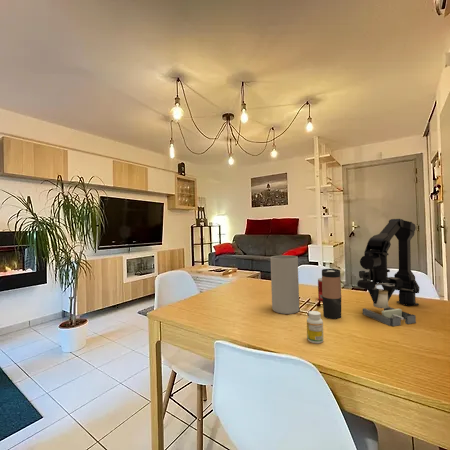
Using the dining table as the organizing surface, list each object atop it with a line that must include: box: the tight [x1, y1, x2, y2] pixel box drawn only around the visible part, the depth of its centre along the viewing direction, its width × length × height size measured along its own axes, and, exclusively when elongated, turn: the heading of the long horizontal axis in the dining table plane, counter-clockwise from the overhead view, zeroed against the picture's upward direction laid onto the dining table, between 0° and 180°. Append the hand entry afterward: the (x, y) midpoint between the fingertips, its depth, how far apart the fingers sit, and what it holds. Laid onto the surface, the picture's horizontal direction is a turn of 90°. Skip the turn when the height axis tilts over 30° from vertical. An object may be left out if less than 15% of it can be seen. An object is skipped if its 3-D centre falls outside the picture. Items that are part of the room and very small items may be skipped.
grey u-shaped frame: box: [362, 305, 417, 327], centre depth 108 cm, size 12×15×3 cm
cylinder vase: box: [270, 255, 300, 315], centre depth 122 cm, size 12×12×25 cm
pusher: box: [381, 308, 405, 321], centre depth 104 cm, size 9×6×4 cm, turn 104°
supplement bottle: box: [306, 310, 324, 344], centre depth 90 cm, size 5×5×10 cm
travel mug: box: [321, 268, 342, 320], centre depth 112 cm, size 8×8×20 cm
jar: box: [372, 288, 389, 309], centre depth 112 cm, size 6×6×7 cm
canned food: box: [317, 277, 323, 303], centre depth 135 cm, size 8×8×11 cm
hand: (380, 302), depth 112 cm, fingers closed on jar, 5 cm apart
